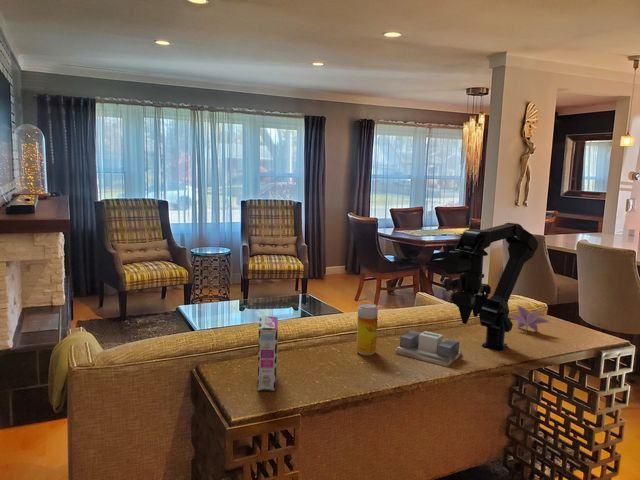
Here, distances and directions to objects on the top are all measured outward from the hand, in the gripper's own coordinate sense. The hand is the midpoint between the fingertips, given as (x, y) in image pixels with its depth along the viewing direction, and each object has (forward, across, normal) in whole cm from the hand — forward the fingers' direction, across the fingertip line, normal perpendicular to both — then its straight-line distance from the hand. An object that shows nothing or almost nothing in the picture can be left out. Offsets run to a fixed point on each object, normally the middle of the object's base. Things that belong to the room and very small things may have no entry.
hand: (469, 320), depth 157 cm
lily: (+12, -36, +9) cm, 39 cm away
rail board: (+11, +9, -9) cm, 17 cm away
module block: (+10, +8, -9) cm, 16 cm away
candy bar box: (+10, +56, -33) cm, 66 cm away
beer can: (+10, +20, -25) cm, 34 cm away
